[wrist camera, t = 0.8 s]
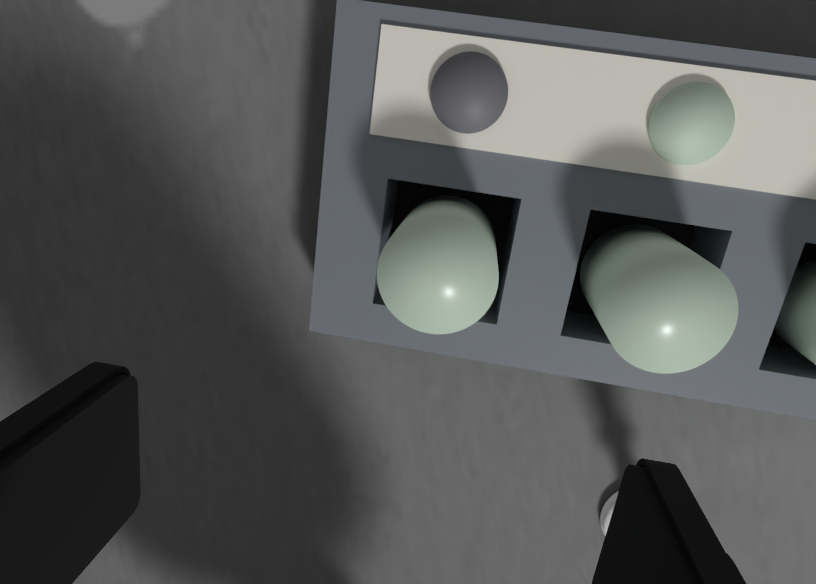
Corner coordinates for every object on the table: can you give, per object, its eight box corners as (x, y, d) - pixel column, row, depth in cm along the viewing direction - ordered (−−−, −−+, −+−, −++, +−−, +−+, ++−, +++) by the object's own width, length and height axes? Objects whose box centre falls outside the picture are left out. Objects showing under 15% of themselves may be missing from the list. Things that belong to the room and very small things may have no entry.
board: (1026, 100, 25) (1139, 97, 20) (888, 401, 29) (957, 450, 25) (357, 13, 27) (333, -6, 23) (329, 305, 32) (305, 334, 27)
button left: (504, 203, 27) (509, 227, 21) (486, 297, 28) (486, 343, 23) (404, 188, 27) (384, 207, 22) (392, 282, 29) (370, 323, 23)
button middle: (696, 233, 26) (756, 266, 20) (668, 328, 28) (715, 383, 22) (592, 217, 26) (622, 245, 21) (570, 311, 28) (592, 362, 22)
